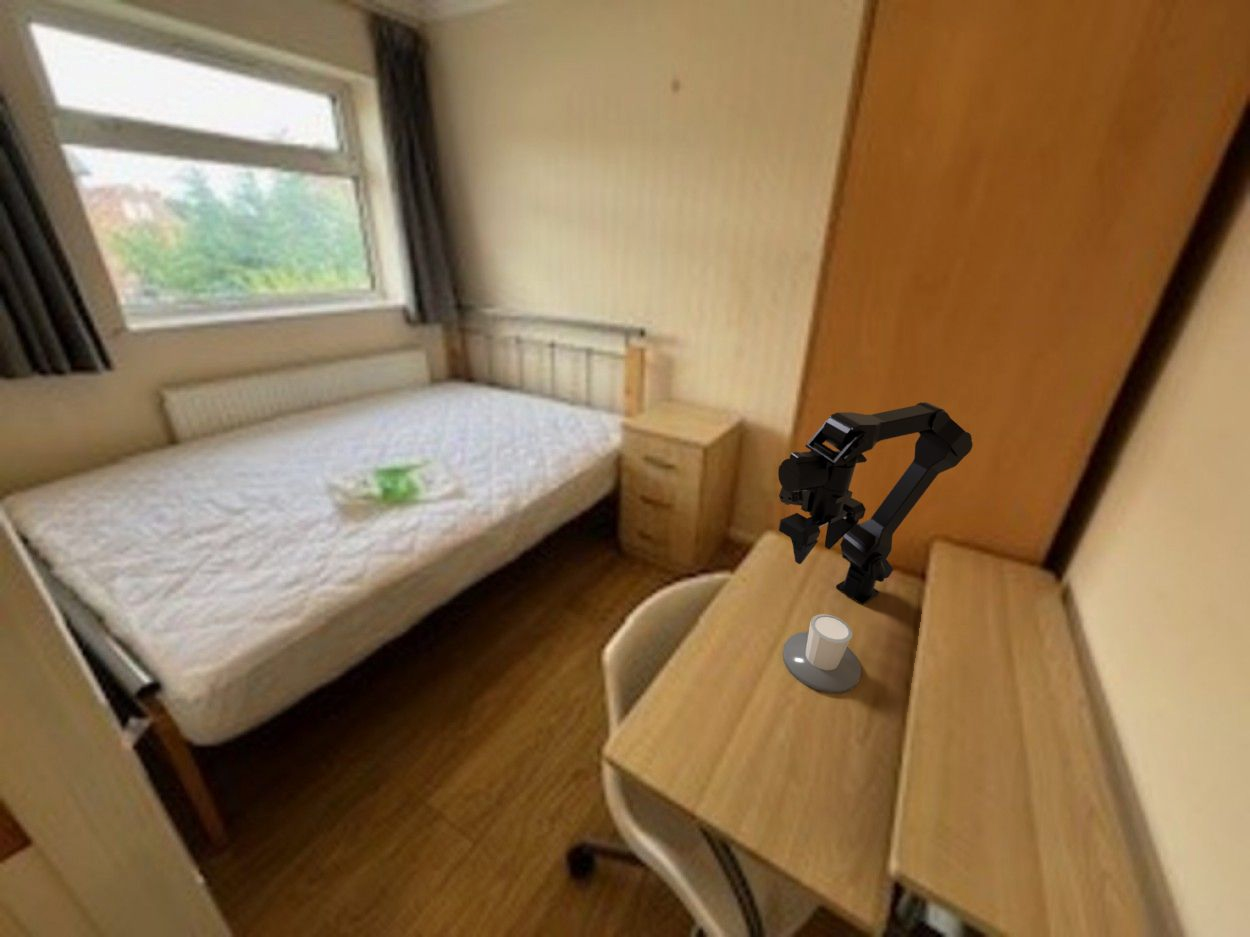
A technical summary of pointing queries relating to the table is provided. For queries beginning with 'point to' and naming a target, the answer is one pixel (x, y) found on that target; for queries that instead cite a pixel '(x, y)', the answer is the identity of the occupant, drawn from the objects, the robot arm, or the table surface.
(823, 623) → the white cup
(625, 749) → the table surface
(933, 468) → the robot arm
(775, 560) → the table surface
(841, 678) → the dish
